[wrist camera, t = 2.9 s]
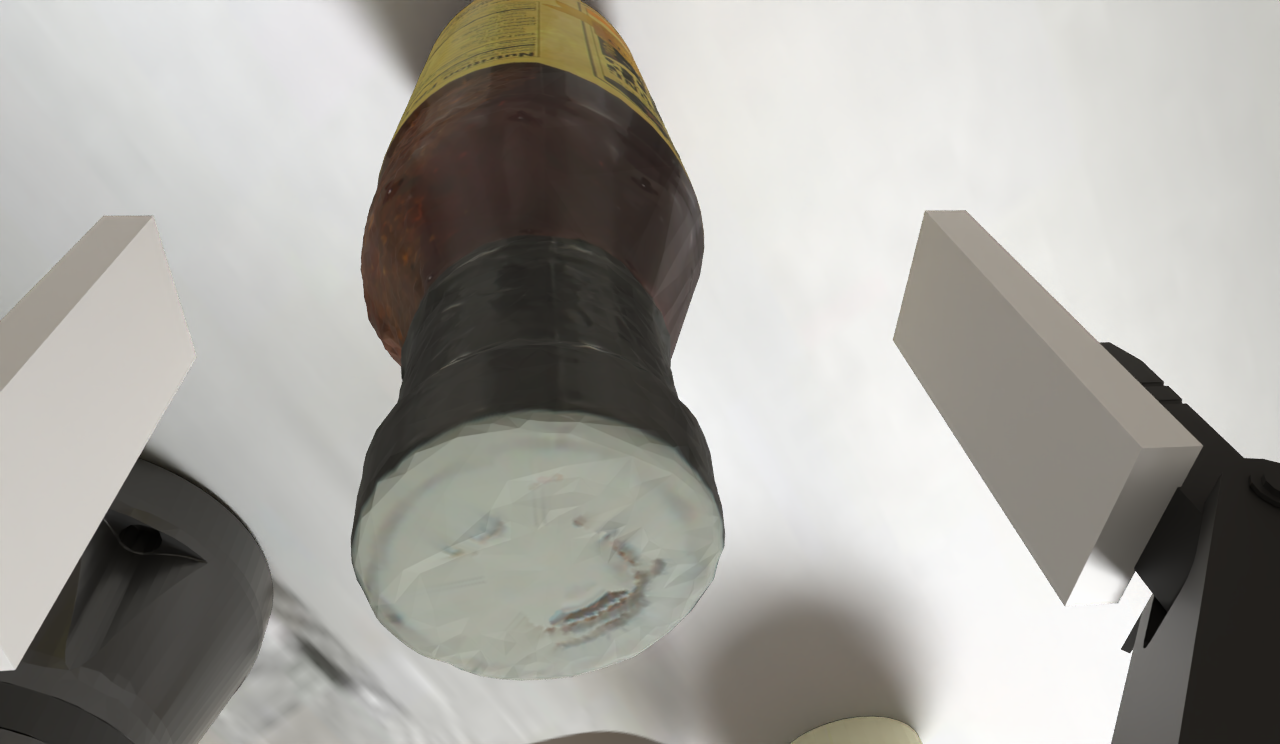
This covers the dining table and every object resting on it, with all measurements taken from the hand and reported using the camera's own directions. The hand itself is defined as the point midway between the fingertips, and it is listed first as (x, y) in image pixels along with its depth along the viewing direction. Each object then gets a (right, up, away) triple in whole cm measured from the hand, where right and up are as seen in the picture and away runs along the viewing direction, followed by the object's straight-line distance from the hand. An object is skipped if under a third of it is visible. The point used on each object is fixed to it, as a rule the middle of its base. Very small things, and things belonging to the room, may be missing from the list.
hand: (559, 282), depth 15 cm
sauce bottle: (-2, +7, +11) cm, 13 cm away
